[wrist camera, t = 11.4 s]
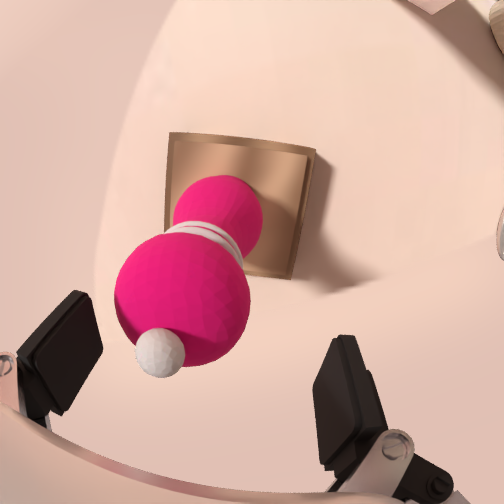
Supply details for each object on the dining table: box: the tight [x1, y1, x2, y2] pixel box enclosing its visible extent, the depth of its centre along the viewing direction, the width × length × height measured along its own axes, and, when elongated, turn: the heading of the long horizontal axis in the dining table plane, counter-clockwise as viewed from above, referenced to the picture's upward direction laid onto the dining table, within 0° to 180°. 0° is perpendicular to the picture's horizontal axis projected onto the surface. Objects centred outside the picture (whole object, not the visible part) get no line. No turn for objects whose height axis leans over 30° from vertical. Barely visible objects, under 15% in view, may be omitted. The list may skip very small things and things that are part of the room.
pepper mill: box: [114, 175, 263, 378], centre depth 17 cm, size 7×7×20 cm
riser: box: [164, 132, 316, 280], centre depth 28 cm, size 14×14×4 cm
